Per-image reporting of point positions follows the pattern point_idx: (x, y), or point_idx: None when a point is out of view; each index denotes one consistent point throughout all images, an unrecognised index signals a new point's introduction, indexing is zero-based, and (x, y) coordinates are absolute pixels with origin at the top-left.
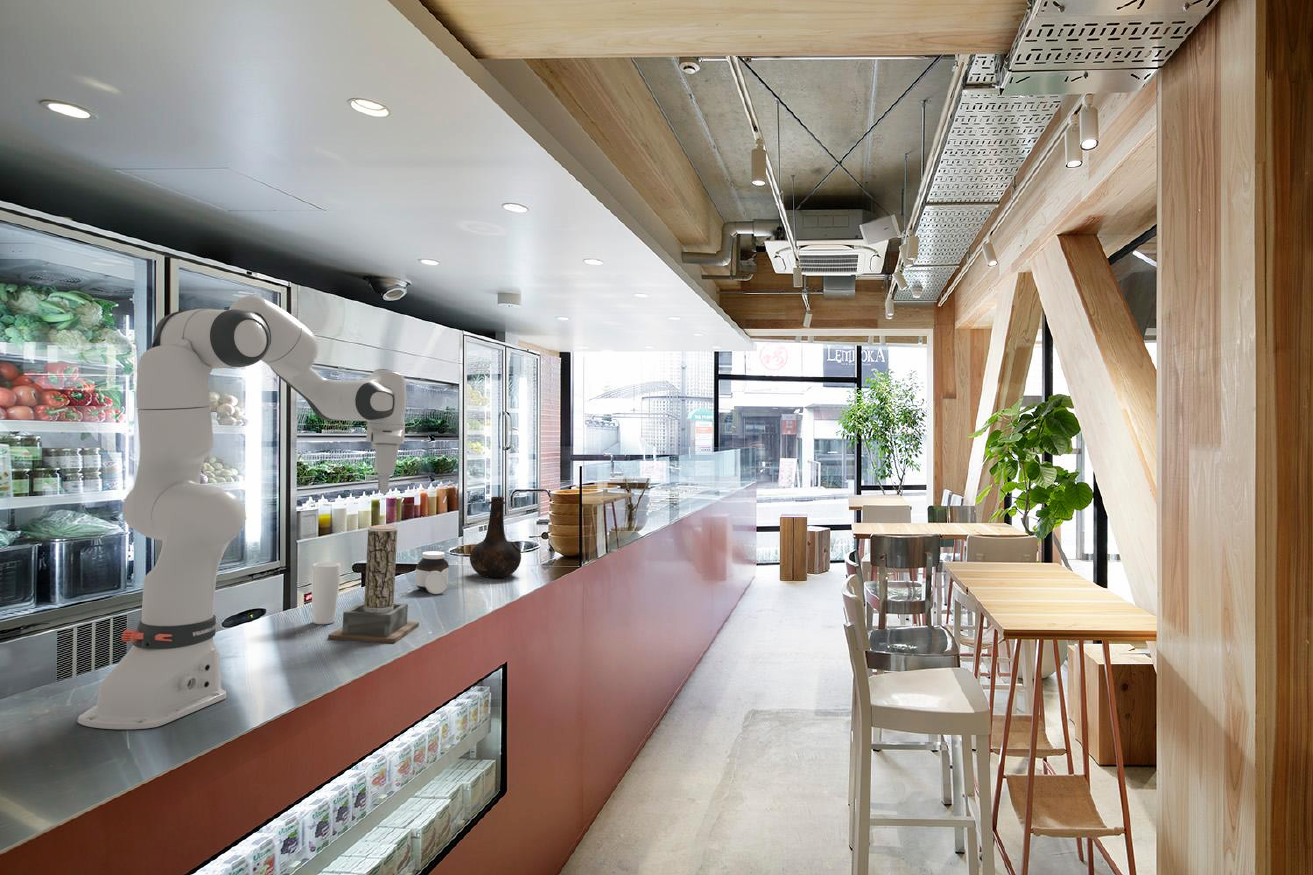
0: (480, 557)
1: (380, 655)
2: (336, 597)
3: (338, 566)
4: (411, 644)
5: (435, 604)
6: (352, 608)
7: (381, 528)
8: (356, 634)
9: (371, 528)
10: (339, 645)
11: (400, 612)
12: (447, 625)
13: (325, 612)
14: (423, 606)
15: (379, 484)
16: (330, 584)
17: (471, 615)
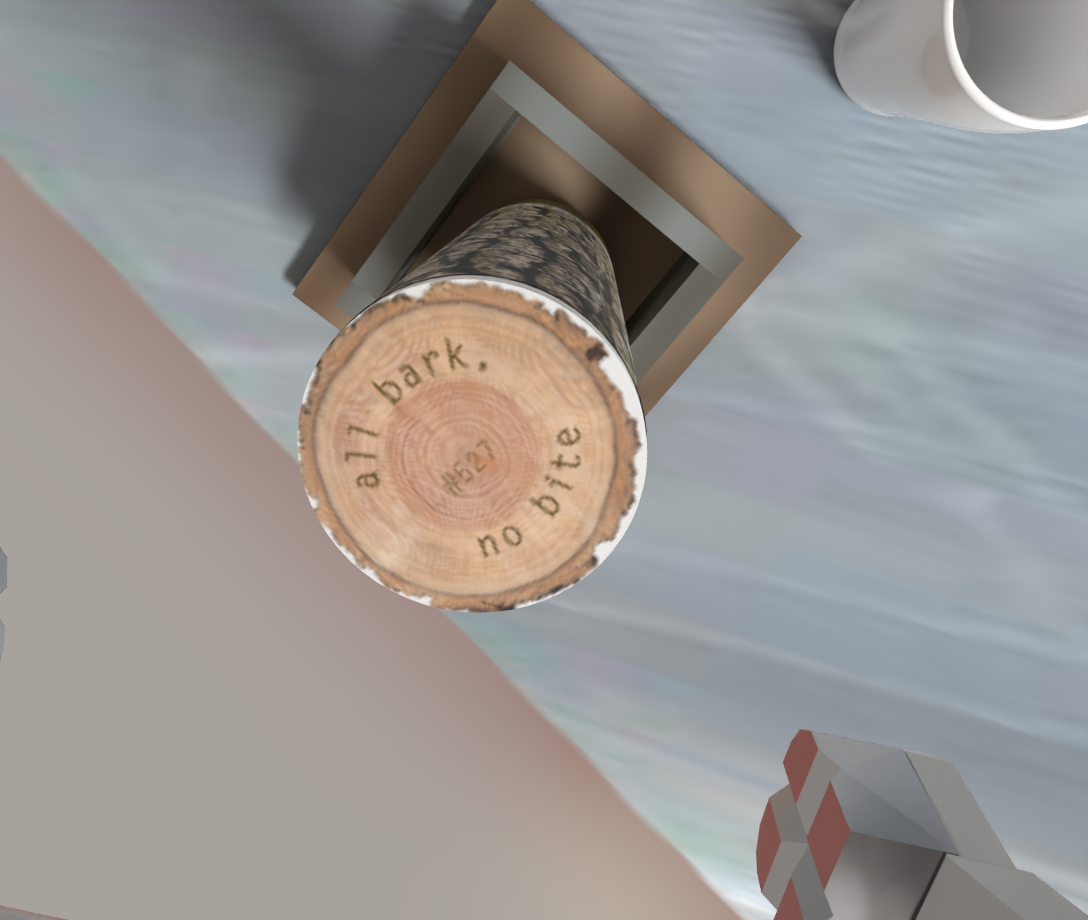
0: None
1: (113, 165)
2: (890, 104)
3: (964, 94)
4: (249, 356)
5: (966, 713)
6: (585, 140)
7: (383, 413)
8: (454, 134)
9: (405, 296)
10: (363, 17)
11: None
12: (517, 616)
13: (850, 33)
14: (957, 648)
15: (827, 826)
16: (887, 34)
17: (651, 775)
